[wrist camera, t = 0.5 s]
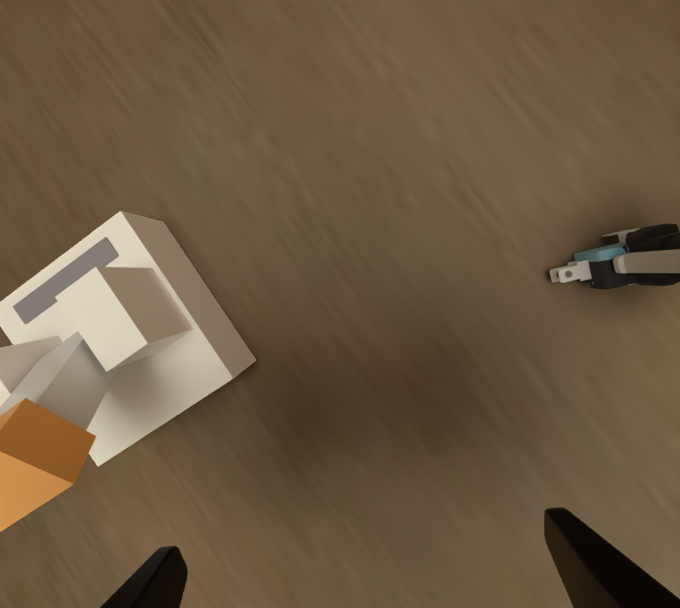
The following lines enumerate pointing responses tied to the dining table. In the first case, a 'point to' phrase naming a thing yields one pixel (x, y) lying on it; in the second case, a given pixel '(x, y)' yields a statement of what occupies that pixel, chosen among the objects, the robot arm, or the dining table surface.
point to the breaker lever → (49, 427)
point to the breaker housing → (126, 327)
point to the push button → (628, 260)
